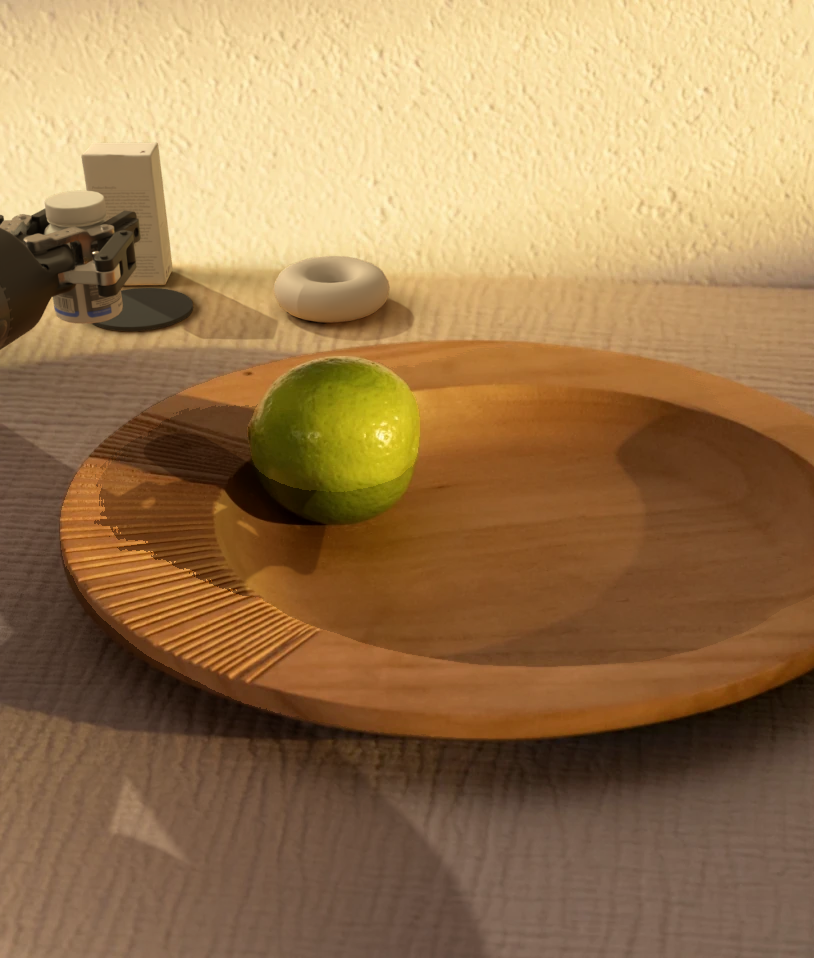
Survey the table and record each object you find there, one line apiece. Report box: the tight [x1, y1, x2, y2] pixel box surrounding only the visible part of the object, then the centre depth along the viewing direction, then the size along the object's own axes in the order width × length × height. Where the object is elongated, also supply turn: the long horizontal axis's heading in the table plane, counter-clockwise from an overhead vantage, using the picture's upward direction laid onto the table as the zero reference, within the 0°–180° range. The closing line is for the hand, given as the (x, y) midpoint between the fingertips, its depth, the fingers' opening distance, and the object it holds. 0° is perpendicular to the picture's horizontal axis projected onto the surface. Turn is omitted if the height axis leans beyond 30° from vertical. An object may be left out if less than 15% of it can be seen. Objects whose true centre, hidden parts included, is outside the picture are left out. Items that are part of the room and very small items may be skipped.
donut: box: [273, 255, 391, 324], centre depth 115 cm, size 10×4×10 cm
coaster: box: [91, 287, 194, 332], centre depth 114 cm, size 9×9×1 cm
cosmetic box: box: [80, 141, 174, 286], centre depth 118 cm, size 6×4×12 cm
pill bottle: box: [44, 189, 123, 325], centre depth 93 cm, size 5×5×8 cm
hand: (98, 220), depth 94 cm, fingers closed on pill bottle, 4 cm apart
